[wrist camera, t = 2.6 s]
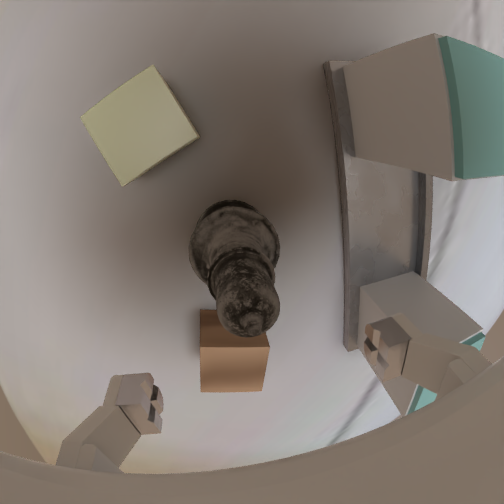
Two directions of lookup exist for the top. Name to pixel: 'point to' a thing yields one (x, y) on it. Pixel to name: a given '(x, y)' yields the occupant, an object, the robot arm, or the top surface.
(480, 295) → the top surface
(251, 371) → the block walnut
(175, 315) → the top surface
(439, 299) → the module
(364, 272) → the rail
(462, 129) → the block
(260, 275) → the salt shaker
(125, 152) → the block olive
